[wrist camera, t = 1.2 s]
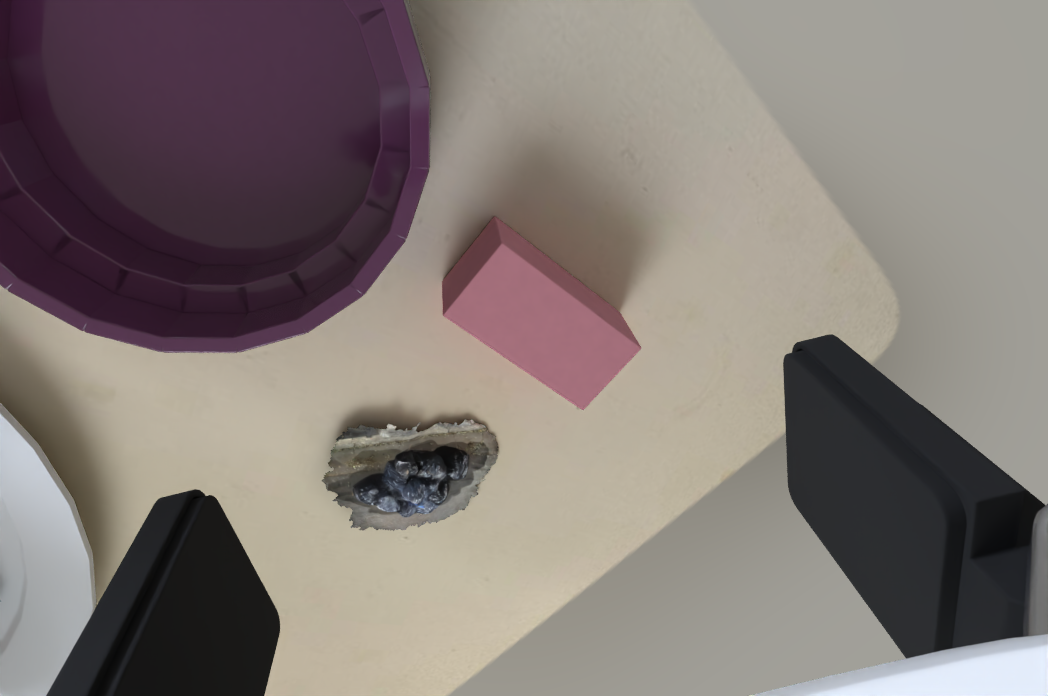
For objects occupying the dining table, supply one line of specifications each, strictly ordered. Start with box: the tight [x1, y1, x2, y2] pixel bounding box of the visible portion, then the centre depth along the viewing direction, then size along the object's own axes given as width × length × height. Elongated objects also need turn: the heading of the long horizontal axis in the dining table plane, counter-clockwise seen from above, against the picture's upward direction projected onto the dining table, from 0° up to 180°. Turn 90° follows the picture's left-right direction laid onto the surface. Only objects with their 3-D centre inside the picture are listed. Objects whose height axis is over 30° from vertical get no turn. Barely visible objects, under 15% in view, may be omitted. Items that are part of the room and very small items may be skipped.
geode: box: [322, 419, 498, 531], centre depth 31 cm, size 7×8×2 cm
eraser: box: [442, 216, 641, 410], centre depth 27 cm, size 7×4×4 cm, turn 50°
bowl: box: [0, 0, 431, 353], centre depth 22 cm, size 15×15×5 cm
